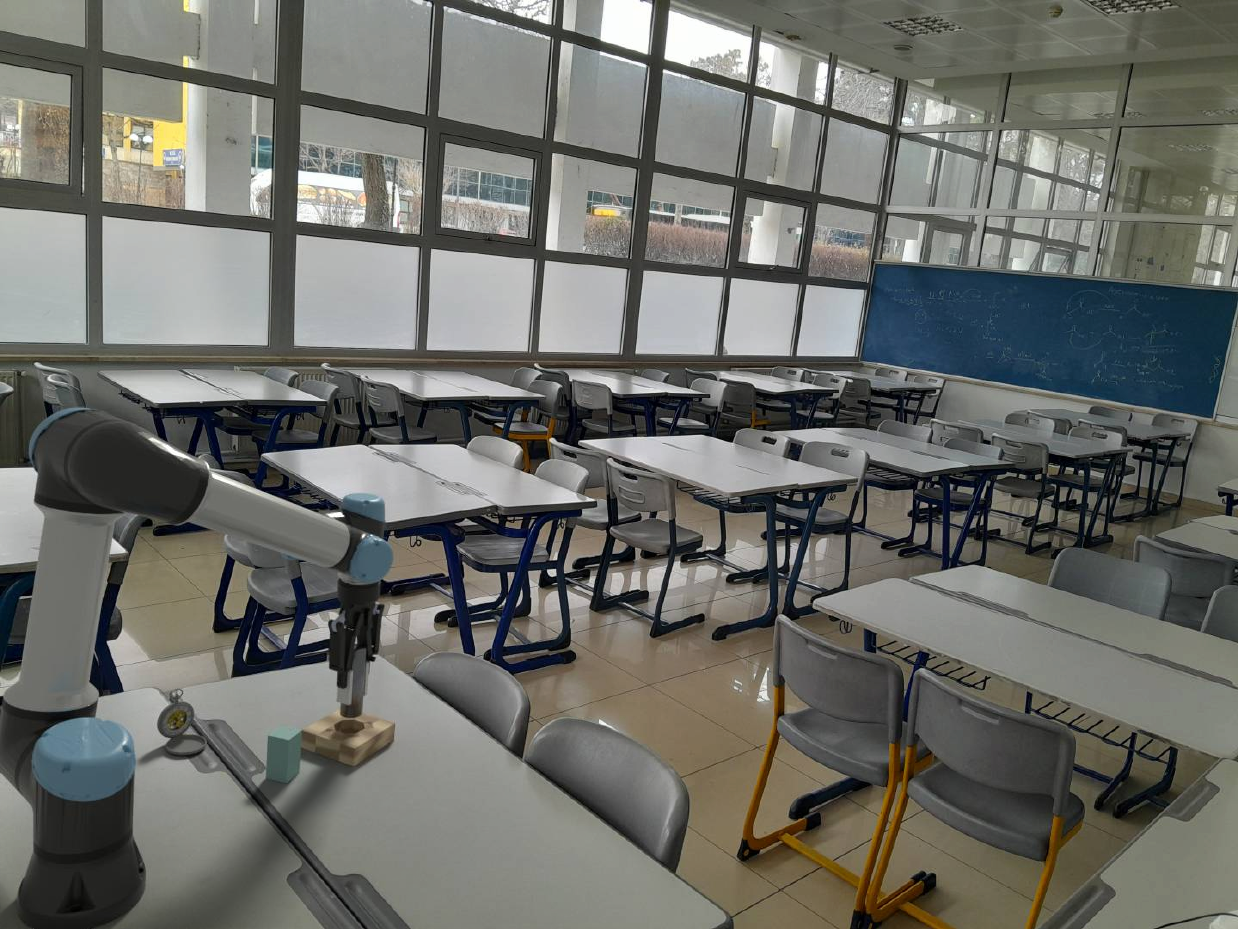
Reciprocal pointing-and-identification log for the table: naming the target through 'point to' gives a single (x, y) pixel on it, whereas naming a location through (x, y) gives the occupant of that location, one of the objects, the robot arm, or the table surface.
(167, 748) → the pocket watch
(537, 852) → the table surface
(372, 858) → the table surface
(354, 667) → the cylinder
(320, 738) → the socket block
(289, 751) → the square bit
